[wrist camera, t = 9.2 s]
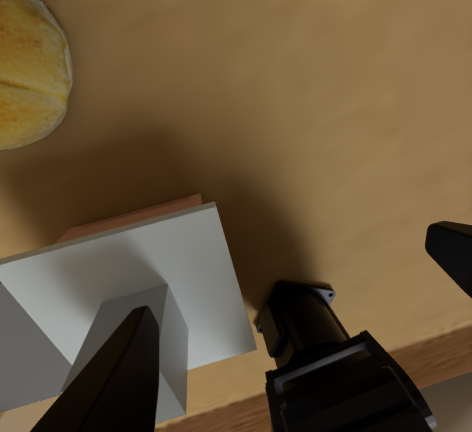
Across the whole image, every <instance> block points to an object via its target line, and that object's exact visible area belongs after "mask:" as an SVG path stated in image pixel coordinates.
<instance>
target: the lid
mask: <svg viewBox="0 0 472 432" xmlns="http://www.w3.org/2000/svg"><path fill="white" fill-rule="evenodd" d="M0 282H1V283H2V284H3V285H4V286H5V287H6V289H7V290H8V291H9V292H10V293H11V295H12V296H13V297H14V298H15V299H16V300H17V302H18V303H19V304H20V305H21V306H22V307H23V309H24V310H25V311H26V312H27V313H28V314H29V316H30V317H31V318H32V319H33V320H34V321H35V323H36V324H37V325H38V326H39V327H40V328H41V330H42V331H43V332H44V333H45V334H46V335H47V337H48V338H49V339H50V340H51V341H52V342H53V344H54V345H55V346H56V347H57V348H58V349H59V351H60V352H61V353H62V354H63V355H64V357H65V358H66V359H67V360H68V361H69V362H70V364H71V365H72V368H71V370H70V372H69V374H68V376H67V378H66V381H65V383H64V385H63V387H62V389H61V391H60V393H61V394H62V393H63V391H64V390H65V389H66V388H67V387H68V386H69V384H70V383H71V382H72V381H73V380H74V378H75V377H76V376H77V375H78V374H79V372H80V371H81V370H82V369H83V368H84V366H85V365H86V364H87V363H88V362H89V361H90V359H91V358H92V357H93V356H94V355H95V353H96V352H97V351H98V350H99V349H100V347H101V346H102V345H103V344H104V343H105V342H106V340H107V339H108V338H109V337H110V336H111V334H112V333H113V332H114V331H115V330H116V328H117V327H118V326H119V325H120V324H121V322H122V321H123V320H124V319H125V318H126V317H127V315H128V314H129V313H130V312H131V311H132V310H133V309H134V308H136V307H140V306H143V305H148V306H149V307H150V309H151V311H152V312H153V314H154V316H155V318H156V320H157V322H158V324H159V330H160V353H159V392H158V401H157V411H156V420H155V423H159V422H162V421H165V420H169V419H172V418H175V417H179V416H182V415H185V414H186V399H187V370H189V369H193V368H196V367H200V366H203V365H206V364H210V363H213V362H217V361H220V360H223V359H227V358H230V357H233V356H237V355H240V354H244V353H247V352H250V351H254V350H257V347H256V343H255V339H254V336H253V332H252V329H251V325H250V322H249V318H248V315H247V311H246V308H245V304H244V301H243V297H242V294H241V291H240V287H239V284H238V280H237V277H236V273H235V270H234V266H233V263H232V259H231V256H230V252H229V249H228V245H227V242H226V238H225V235H224V231H223V228H222V224H221V221H220V218H219V214H218V211H217V207H216V204H215V201H214V202H210V203H206V204H203V205H199V206H195V207H192V208H188V209H184V210H180V211H177V212H173V213H169V214H166V215H162V216H158V217H154V218H151V219H147V220H143V221H140V222H136V223H132V224H128V225H125V226H121V227H117V228H114V229H110V230H106V231H102V232H99V233H95V234H91V235H88V236H84V237H80V238H76V239H73V240H69V241H65V242H62V243H58V244H54V245H50V246H47V247H43V248H39V249H36V250H32V251H28V252H24V253H21V254H17V255H13V256H10V257H6V258H2V259H0Z"/></svg>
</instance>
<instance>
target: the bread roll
mask: <svg viewBox="0 0 472 432" xmlns="http://www.w3.org/2000/svg"><path fill="white" fill-rule="evenodd" d="M72 84H73V63H72V56H71V52H70V49H69V45H68V42H67V38H66V36H65V34H64V32H63V30H62V28H61V27H60V25H59V24H58V22H57V21H56V19H55V18H54V17H53V15H52V14H51V13H50V12H49V10H48V8H47V7H46V5H45V4H44V3H43V2H42V1H41V0H0V150H5V149H13V148H19V147H22V146H26V145H29V144H32V143H36V142H37V141H38V140H41V139H43V138H45V137H46V136H48V135H49V134H51V133H52V131H54V130H55V128H56V127H57V126H59V125H60V124H61V121H63V118H64V117H65V115H66V113H67V107H68V97H69V94H70V91H71V88H72Z"/></svg>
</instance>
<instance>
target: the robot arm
mask: <svg viewBox="0 0 472 432" xmlns="http://www.w3.org/2000/svg"><path fill="white" fill-rule="evenodd" d="M425 249H426V251H427V253H428V254H429V255H430V256H431V257H432V258H433V259H434V260H435V261H436V263H437V264H438V265H439V266H440V267H441V268H442V269H443V270H444V271H445V272H446V273H447V274H448V275H449V276H450V277H451V278H452V279H453V280H454V281H455V282H456V283H457V285H458V286H459V287H460V288H461V289H462V290H463V291H464V292H465V293H466V294H468V295H469V296H470V297H471V298H472V225H467V224H461V223H454V222H448V221H440V222H437V223H433V224H431V225H429V227H428V229H427V235H426V242H425ZM279 286H281V287H279ZM334 297H335V292H334V290H333V289H331V288H325V287H319V286H313V285H306V284H300V283H293V282H287V281H278V282H276V283H275V285H274V288H273V290H272V292H271V294H270V297H269V299H268V300H267V301H266V303H265V305H264V308H263V310H262V312H261V314H260V317H259V321H258V324H257V326H256V329H257V332H258V333H263V337H264V340H265V344H266V347H267V351H268V354H269V356H270V357H271V358H274V359H275V362H276V366H277V369H275V370H273V371H272V370H269V371H267V372H265V374H266V380H267V383H266V387H265V389H266V393H267V397H268V402H269V408H270V414H271V432H433V431H432V430H433V429H435V428H436V422H435V419H434V417H433V414H432V412H431V410H430V408H429V407H428V405H427V403H426V401H425V400H424V398H423V396H422V395H421V394H420V392H419V390H418V389H417V387H416V386H415V384H414V383H413V381H412V380H411V379H410V378H409V376H408V375H407V374H406V372H405V371H404V370H403V369H402V368H401V367H400V366H399V365H398V364H397V362H396V361H395V360H394V359H393V358H392V357H391V356H390V355H389V354H388V353H387V352H386V351H385V350H384V349H383V347H382V346H381V345H380V344H379V343H378V342H377V341H376V340H375V339H374V338H373V337H372V336H371V335H370V334H369V332H368V331H367V330H365V331H363V332H360V334H359V335H356V336H354V337H352V338H350V336H349V335H348V333H347V332H346V330H345V329H344V327H343V326H342V324H341V323H340V321H339V320H338V318H337V316H336V315H335V313H334V312H333V310H332V309H331V307H330V306H329V305H330V304H331V302H332V300H333V298H334ZM159 353H160V330H159V324H158V322H157V320H156V318H155V316H154V314H153V312H152V311H151V309H150V307H149V306H148V305H143V306H140V307H136V308H134V309H133V310H132V311H131V312H130V313H129V314H128V315H127V317H126V318H125V319H124V320H123V321H122V322H121V324H120V325H119V326H118V327H117V328H116V330H115V331H114V332H113V333H112V334H111V336H110V337H109V338H108V339H107V340H106V342H105V343H104V344H103V345H102V346H101V347H100V349H99V350H98V351H97V352H96V353H95V355H94V356H93V357H92V358H91V359H90V361H89V362H88V363H87V364H86V365H85V366H84V368H83V369H82V370H81V371H80V372H79V374H78V375H77V376H76V377H75V378H74V380H73V381H72V382H71V383H70V384H69V386H68V387H67V388H66V389H65V390H64V391H63V393H62V394H61V395H60V396H59V397H58V399H57V400H56V401H55V402H54V404H53V405H52V406H51V407H50V408H49V409H48V411H47V412H46V413H45V414H44V415H43V417H42V418H41V419H40V420H39V421H38V422H37V424H36V425H35V426H34V427H33V428H32V430H31V431H30V432H154V429H155V420H156V411H157V401H158V392H159Z"/></svg>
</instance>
